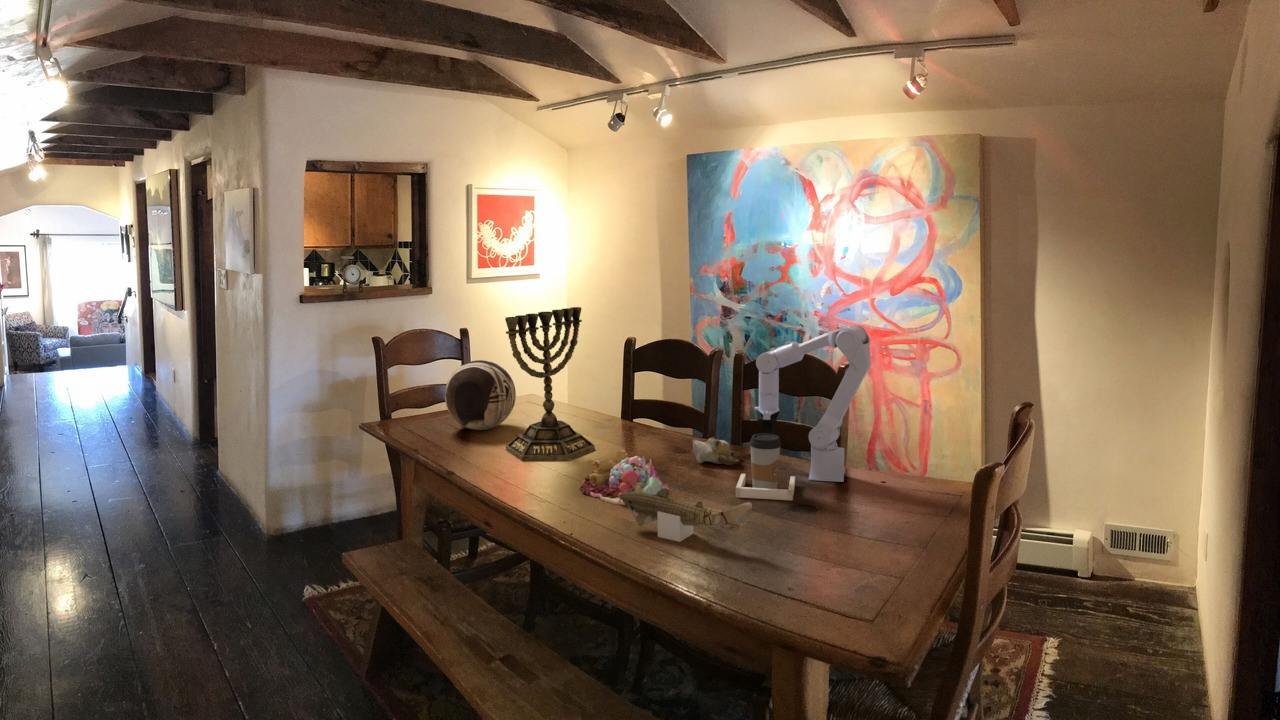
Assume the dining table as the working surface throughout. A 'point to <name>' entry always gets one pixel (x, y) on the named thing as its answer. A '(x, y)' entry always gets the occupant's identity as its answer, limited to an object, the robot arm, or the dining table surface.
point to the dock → (764, 491)
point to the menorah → (546, 388)
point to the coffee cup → (765, 460)
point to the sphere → (480, 395)
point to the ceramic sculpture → (715, 451)
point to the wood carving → (681, 514)
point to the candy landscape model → (621, 478)
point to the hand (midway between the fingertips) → (768, 438)
